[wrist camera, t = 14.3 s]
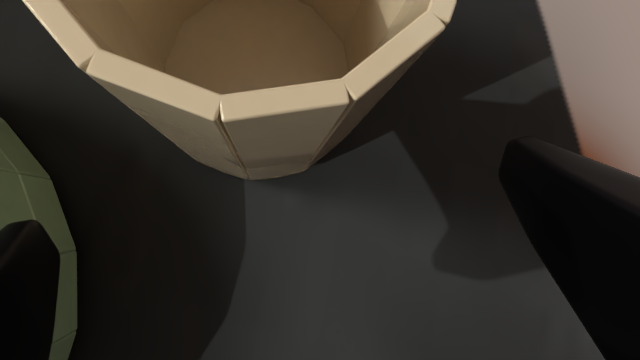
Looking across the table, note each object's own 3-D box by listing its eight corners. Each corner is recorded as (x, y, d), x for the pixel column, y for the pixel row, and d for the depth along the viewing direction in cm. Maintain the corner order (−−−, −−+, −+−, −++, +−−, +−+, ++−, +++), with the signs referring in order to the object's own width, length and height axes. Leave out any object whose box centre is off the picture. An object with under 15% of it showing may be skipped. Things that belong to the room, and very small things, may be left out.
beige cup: (337, -19, 16) (429, -346, 7) (371, 162, 16) (522, 78, 6) (146, 1, 15) (-51, -346, 6) (175, 195, 15) (10, 152, 5)
